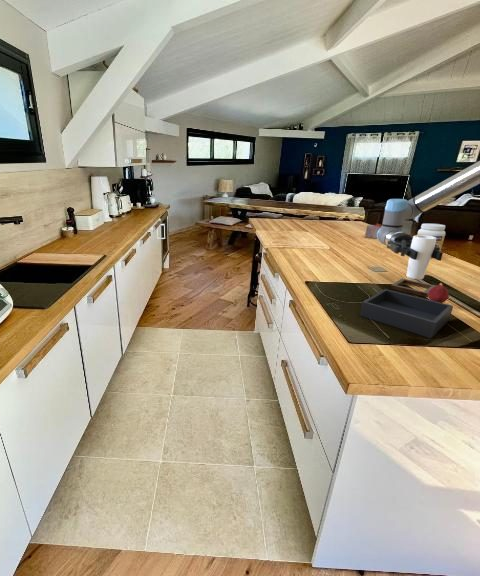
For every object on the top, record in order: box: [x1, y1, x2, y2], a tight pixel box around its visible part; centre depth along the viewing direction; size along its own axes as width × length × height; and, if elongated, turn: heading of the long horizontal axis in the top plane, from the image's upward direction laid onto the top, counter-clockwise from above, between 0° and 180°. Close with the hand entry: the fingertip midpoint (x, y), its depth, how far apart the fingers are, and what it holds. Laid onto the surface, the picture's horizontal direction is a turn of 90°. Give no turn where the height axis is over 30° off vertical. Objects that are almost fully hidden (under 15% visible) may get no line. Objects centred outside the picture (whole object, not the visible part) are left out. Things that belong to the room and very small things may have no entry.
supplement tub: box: [416, 223, 446, 259], centre depth 170 cm, size 12×12×17 cm
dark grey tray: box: [359, 288, 454, 339], centre depth 101 cm, size 20×18×5 cm
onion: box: [427, 282, 450, 303], centre depth 110 cm, size 6×6×8 cm
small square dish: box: [389, 277, 437, 298], centre depth 126 cm, size 12×12×2 cm
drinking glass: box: [405, 234, 437, 281], centre depth 110 cm, size 7×7×15 cm
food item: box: [364, 223, 382, 239], centre depth 216 cm, size 14×8×10 cm, turn 59°
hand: (428, 256), depth 105 cm, fingers closed on drinking glass, 7 cm apart
